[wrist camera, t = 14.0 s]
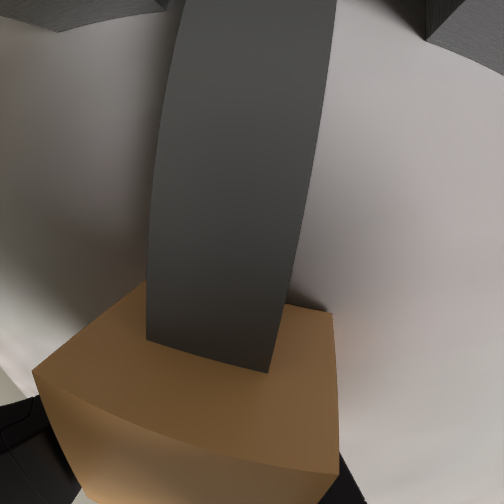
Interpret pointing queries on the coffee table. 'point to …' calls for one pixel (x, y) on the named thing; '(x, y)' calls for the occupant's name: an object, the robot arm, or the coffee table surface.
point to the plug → (215, 286)
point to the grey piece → (132, 3)
